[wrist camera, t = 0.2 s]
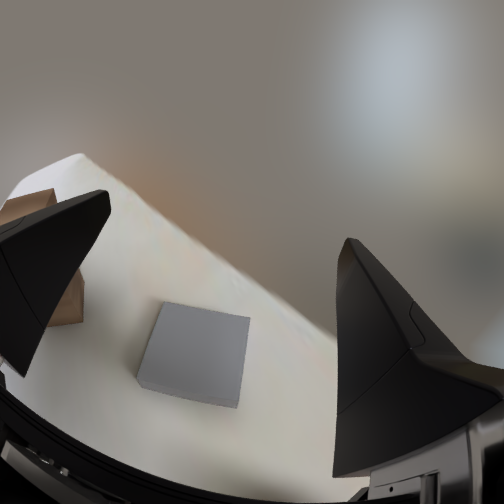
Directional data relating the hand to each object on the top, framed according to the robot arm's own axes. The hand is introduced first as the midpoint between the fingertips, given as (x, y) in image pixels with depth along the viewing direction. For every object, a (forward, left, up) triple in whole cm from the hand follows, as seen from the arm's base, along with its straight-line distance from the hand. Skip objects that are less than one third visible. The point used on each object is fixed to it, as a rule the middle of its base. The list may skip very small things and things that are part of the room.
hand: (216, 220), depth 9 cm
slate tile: (+3, +2, -17) cm, 17 cm away
